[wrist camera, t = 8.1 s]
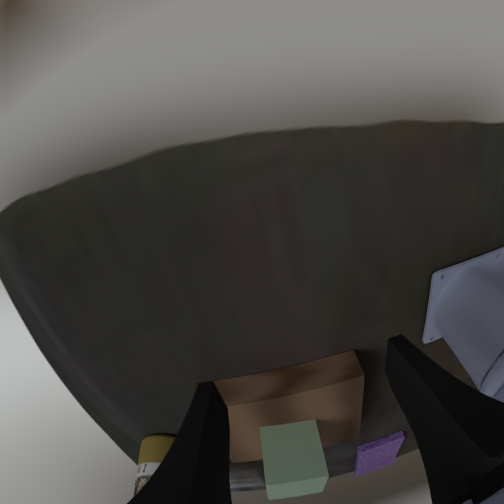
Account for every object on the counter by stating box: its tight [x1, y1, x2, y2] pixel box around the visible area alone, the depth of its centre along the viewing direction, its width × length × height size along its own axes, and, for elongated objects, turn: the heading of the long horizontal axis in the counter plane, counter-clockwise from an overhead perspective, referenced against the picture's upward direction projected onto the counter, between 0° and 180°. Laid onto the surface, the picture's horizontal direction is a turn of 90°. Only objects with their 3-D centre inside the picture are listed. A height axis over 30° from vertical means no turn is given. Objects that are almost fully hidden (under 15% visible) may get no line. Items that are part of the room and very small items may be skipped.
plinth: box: [194, 350, 365, 463], centre depth 26 cm, size 14×12×3 cm
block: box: [260, 419, 329, 500], centre depth 22 cm, size 5×5×6 cm
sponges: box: [354, 431, 405, 477], centre depth 36 cm, size 7×13×2 cm, turn 14°
